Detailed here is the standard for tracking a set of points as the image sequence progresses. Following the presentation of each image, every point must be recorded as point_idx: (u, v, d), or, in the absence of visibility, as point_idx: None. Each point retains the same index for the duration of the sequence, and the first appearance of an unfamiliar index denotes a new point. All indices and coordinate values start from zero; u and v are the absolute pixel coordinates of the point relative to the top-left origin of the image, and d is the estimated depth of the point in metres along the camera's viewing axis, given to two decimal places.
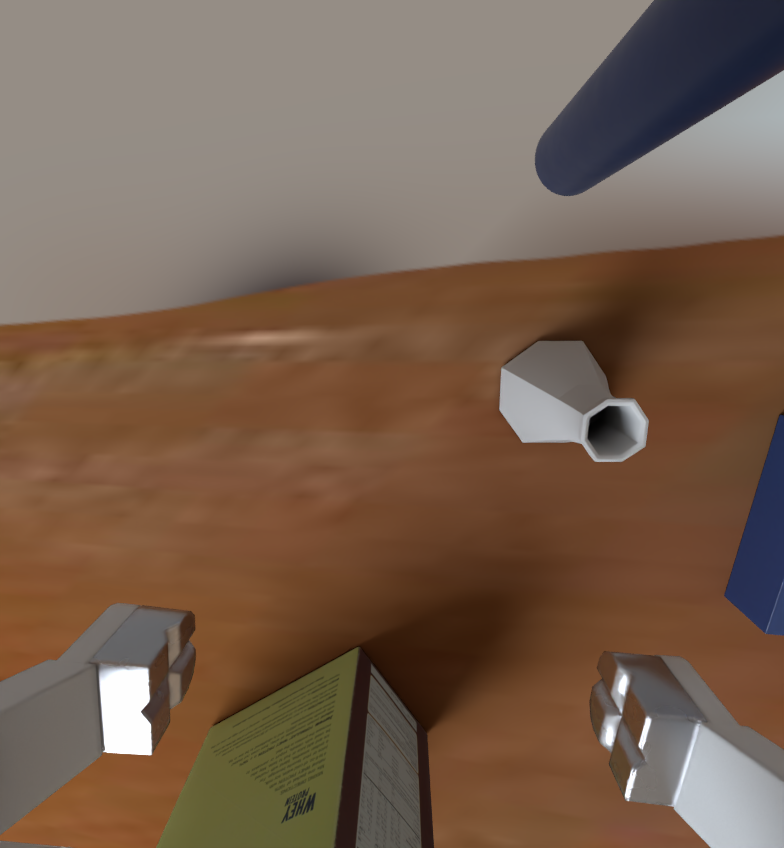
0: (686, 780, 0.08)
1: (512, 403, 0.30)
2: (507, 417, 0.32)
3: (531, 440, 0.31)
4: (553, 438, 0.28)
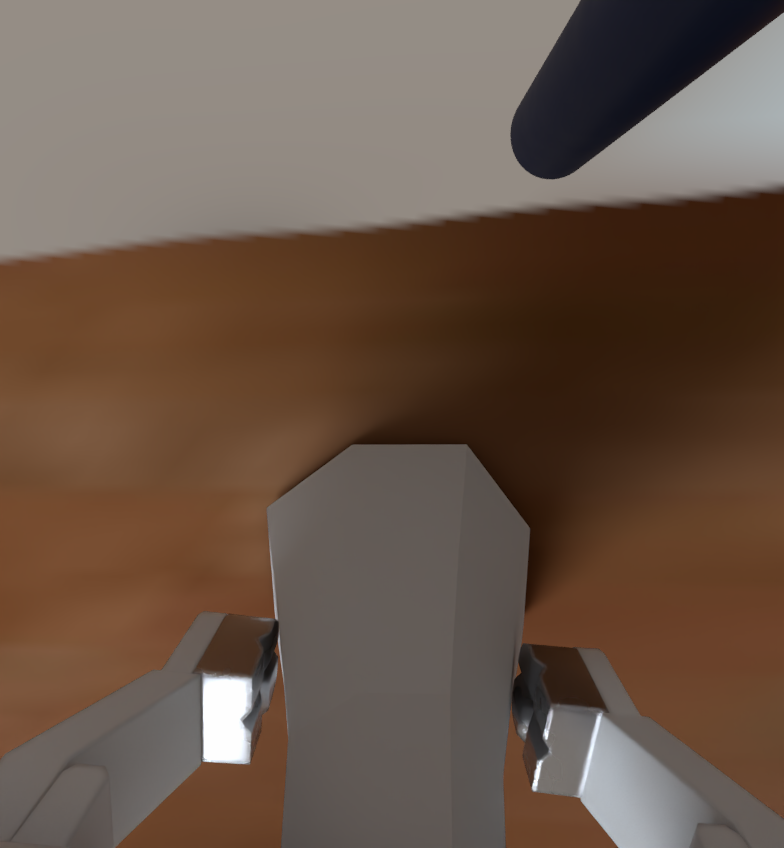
0: (590, 771, 0.08)
1: (275, 615, 0.11)
2: None
3: None
4: None
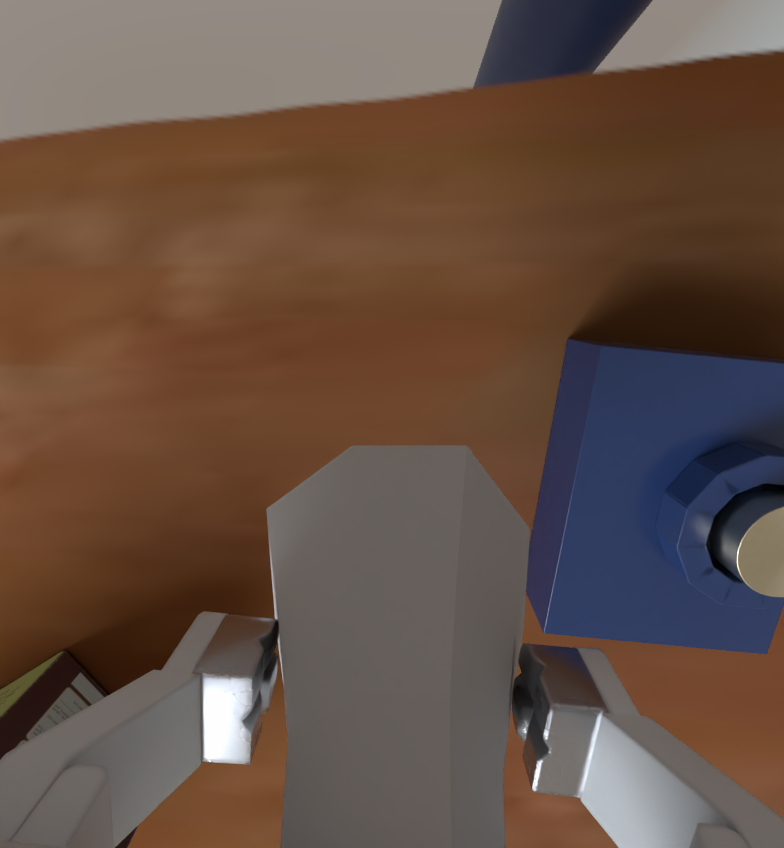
0: (590, 771, 0.08)
1: (275, 616, 0.11)
2: None
3: None
4: None
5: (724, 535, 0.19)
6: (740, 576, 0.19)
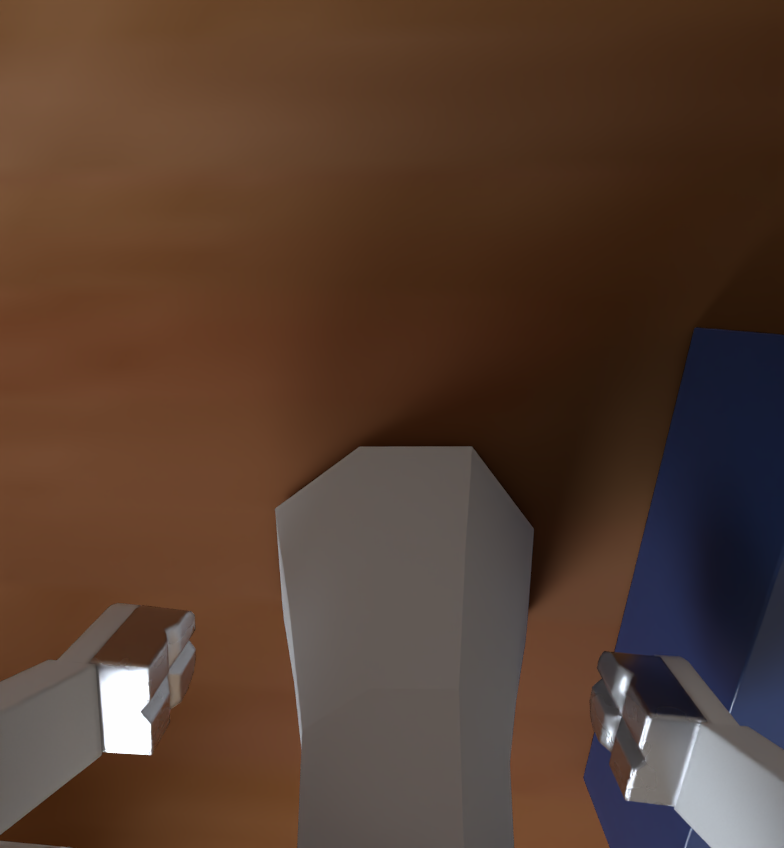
0: (686, 780, 0.08)
1: (284, 614, 0.12)
2: None
3: None
4: None
5: None
6: None
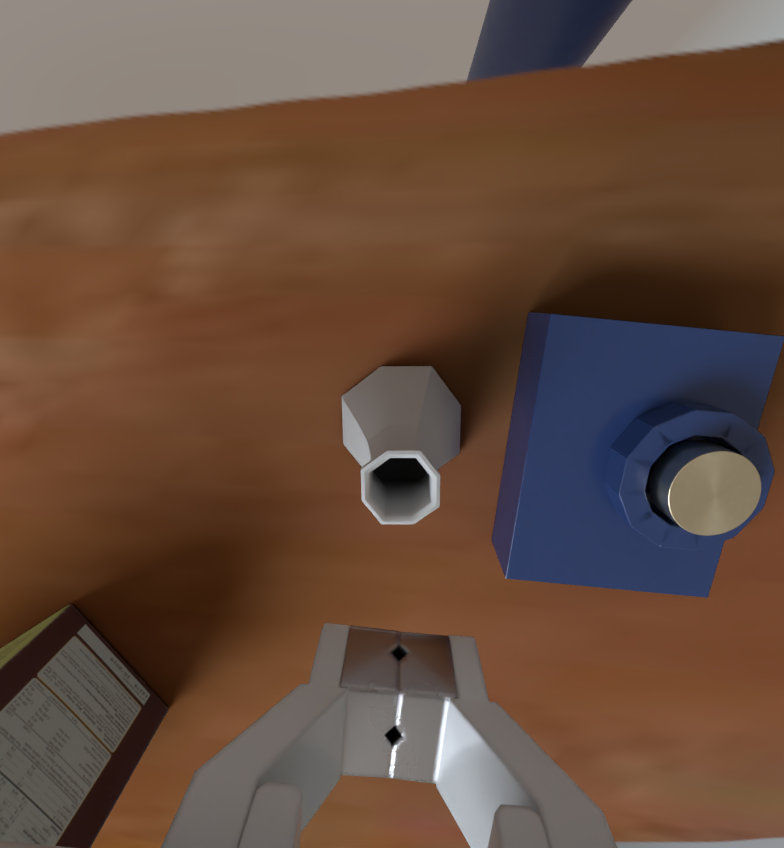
0: (441, 757, 0.08)
1: (348, 438, 0.26)
2: (351, 453, 0.28)
3: None
4: None
5: (659, 481, 0.22)
6: (672, 516, 0.21)
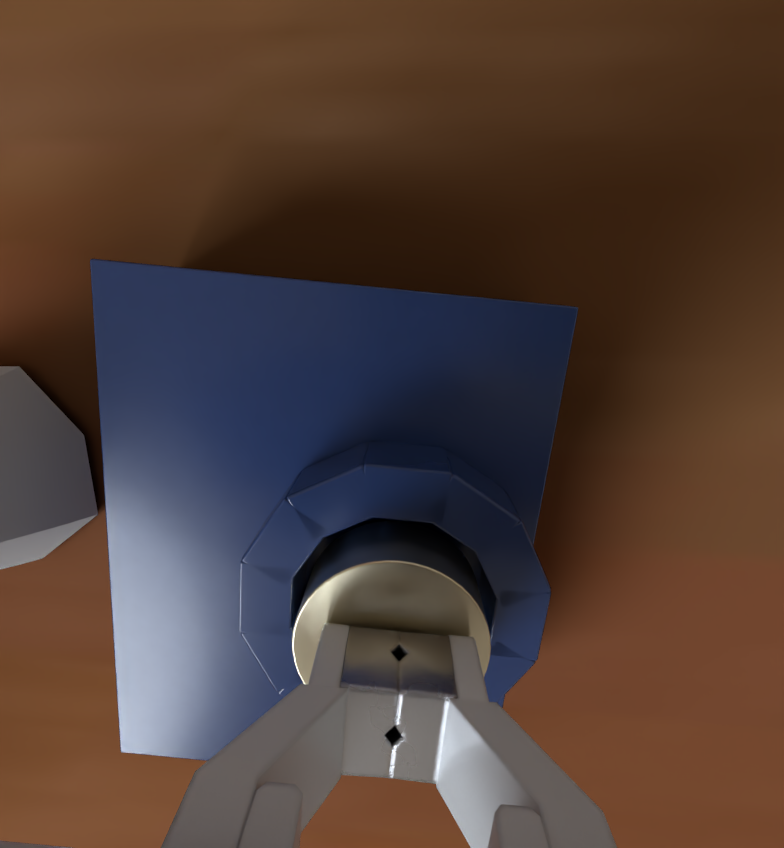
0: (441, 757, 0.08)
1: None
2: None
3: None
4: None
5: None
6: None
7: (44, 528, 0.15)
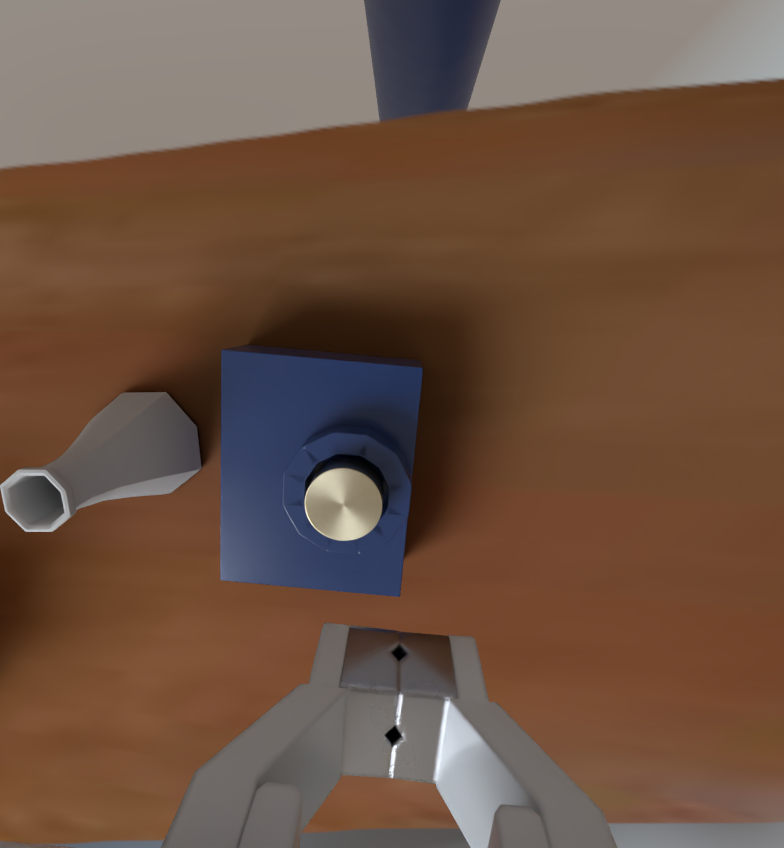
0: (441, 757, 0.08)
1: None
2: None
3: None
4: None
5: None
6: (312, 524, 0.25)
7: (180, 472, 0.30)
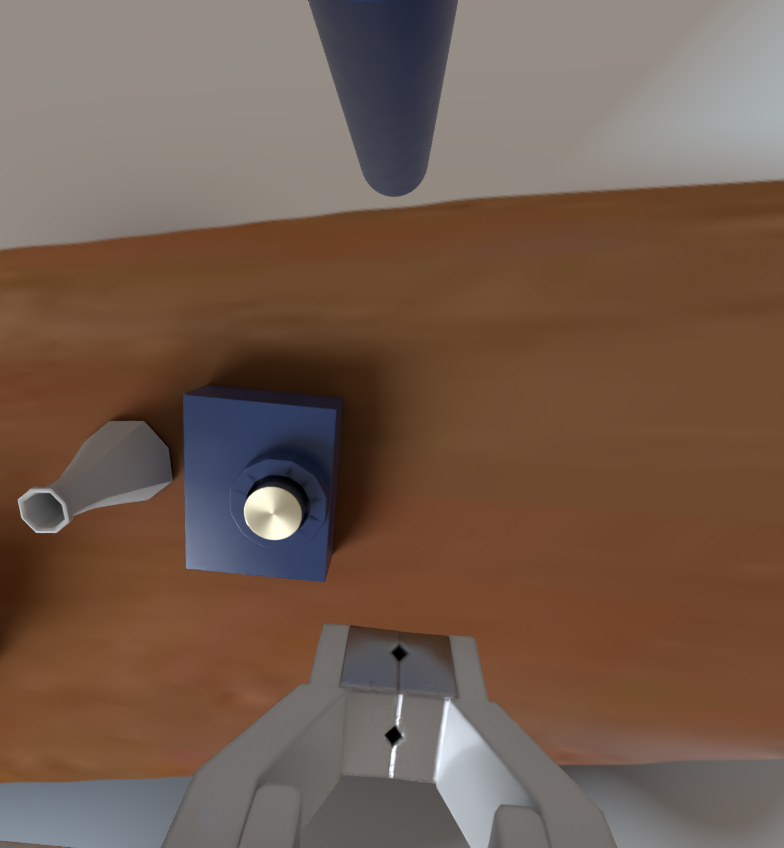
0: (441, 757, 0.08)
1: None
2: None
3: None
4: None
5: None
6: (250, 527, 0.33)
7: (155, 484, 0.38)
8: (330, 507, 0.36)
